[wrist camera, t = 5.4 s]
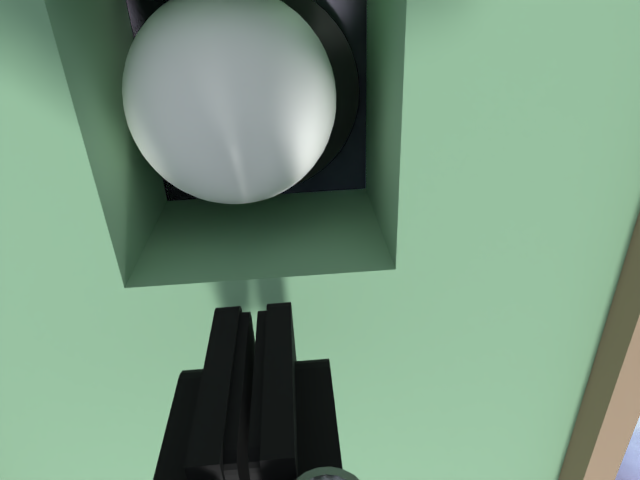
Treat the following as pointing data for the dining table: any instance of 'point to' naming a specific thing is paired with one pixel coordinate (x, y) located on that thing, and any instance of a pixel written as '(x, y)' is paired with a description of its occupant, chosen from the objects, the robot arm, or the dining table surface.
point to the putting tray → (339, 246)
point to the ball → (229, 97)
